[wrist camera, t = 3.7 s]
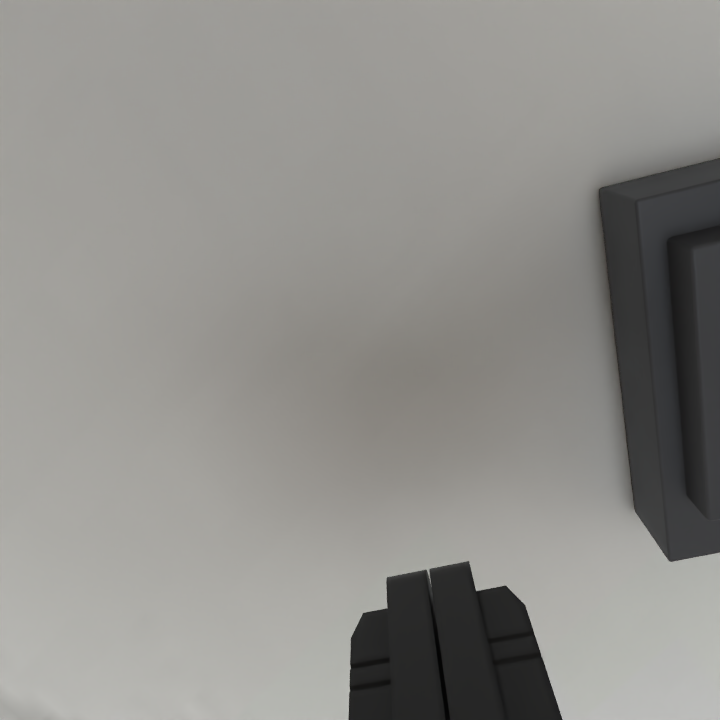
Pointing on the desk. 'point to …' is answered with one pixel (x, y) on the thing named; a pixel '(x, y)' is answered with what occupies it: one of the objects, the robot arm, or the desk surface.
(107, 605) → the desk surface
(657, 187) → the dark raised-panel slab
